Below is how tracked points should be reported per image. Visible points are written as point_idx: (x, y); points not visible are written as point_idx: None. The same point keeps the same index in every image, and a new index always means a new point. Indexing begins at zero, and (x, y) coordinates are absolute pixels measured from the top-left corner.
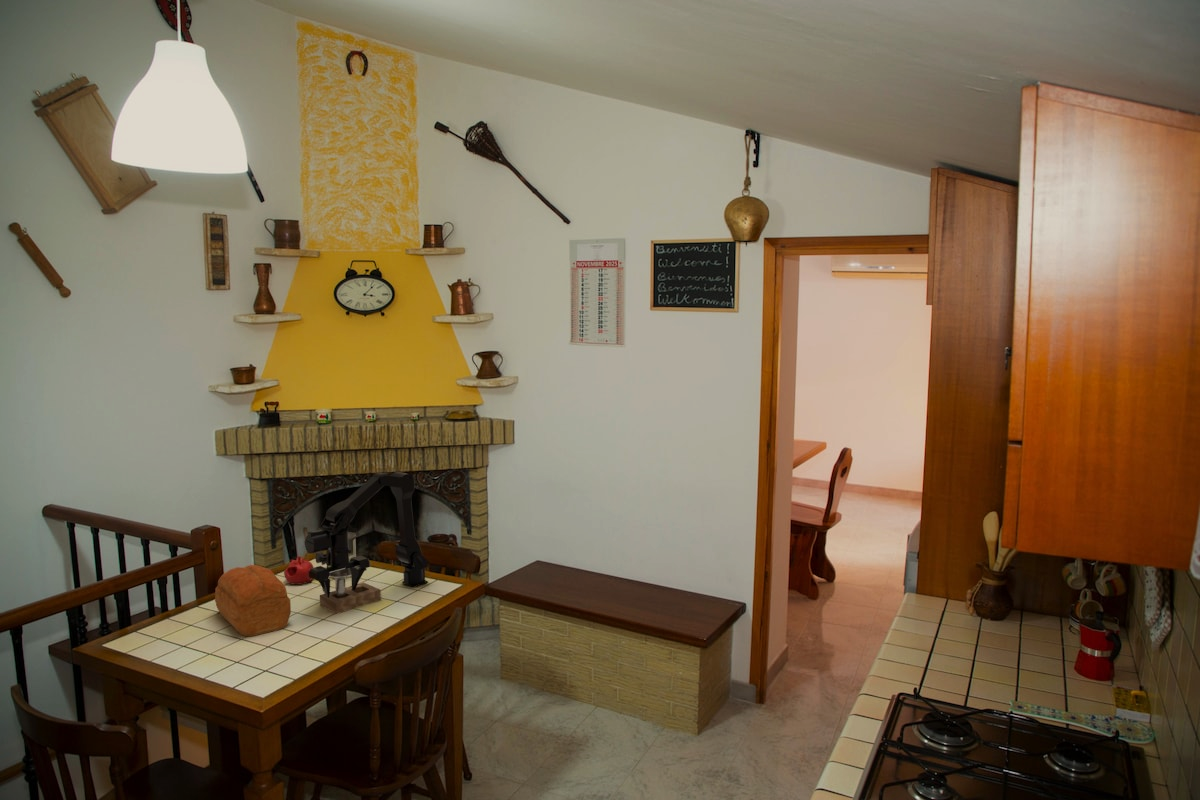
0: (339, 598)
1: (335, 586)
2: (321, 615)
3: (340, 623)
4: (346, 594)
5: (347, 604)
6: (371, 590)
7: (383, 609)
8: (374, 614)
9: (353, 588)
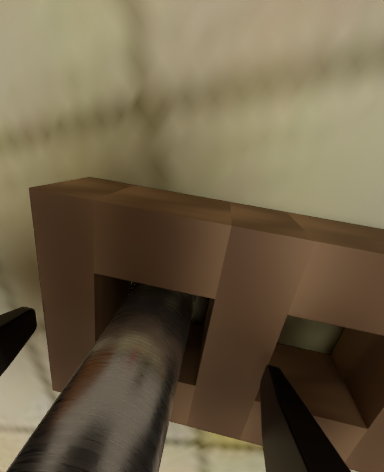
0: None
1: (65, 386)
2: (32, 293)
3: (54, 400)
4: (207, 330)
5: None
6: (349, 446)
7: (251, 453)
8: (190, 449)
9: (262, 396)
